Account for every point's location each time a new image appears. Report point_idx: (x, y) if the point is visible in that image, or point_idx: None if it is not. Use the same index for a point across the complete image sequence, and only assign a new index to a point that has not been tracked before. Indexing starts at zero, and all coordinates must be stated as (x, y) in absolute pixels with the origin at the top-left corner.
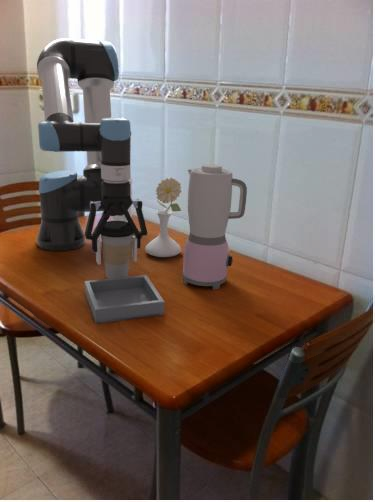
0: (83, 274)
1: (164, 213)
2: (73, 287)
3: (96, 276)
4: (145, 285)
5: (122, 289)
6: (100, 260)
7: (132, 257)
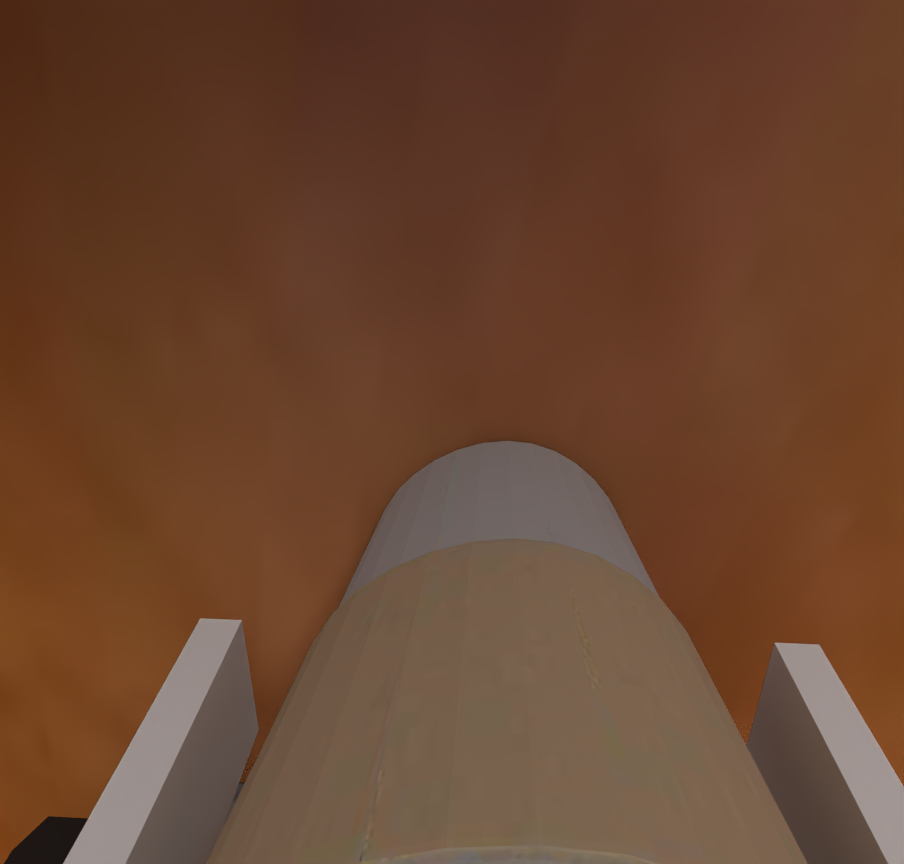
0: (118, 398)
1: None
2: (45, 659)
3: (270, 490)
4: None
5: None
6: (237, 777)
7: (775, 677)
